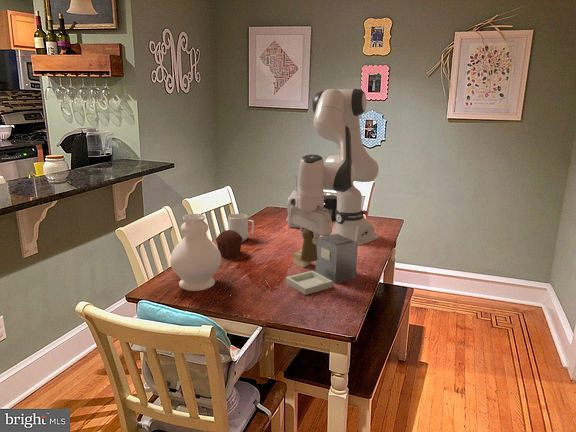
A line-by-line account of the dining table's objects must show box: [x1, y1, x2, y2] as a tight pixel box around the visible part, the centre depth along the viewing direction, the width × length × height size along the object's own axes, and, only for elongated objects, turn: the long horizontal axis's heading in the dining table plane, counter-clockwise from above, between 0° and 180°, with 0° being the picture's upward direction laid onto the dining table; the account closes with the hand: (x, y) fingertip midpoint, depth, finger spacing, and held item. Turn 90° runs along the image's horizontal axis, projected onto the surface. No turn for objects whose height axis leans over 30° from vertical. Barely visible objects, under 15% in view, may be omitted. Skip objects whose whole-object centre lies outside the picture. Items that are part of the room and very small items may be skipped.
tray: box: [285, 270, 334, 296], centre depth 171 cm, size 12×12×2 cm
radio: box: [285, 173, 300, 229], centre depth 244 cm, size 22×8×25 cm, turn 172°
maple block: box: [292, 249, 312, 268], centre depth 191 cm, size 5×5×5 cm
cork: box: [301, 229, 318, 263], centre depth 167 cm, size 6×6×11 cm
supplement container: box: [324, 194, 337, 222], centre depth 254 cm, size 10×10×12 cm
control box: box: [314, 233, 359, 284], centre depth 179 cm, size 10×12×14 cm
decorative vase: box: [169, 213, 222, 292], centre depth 169 cm, size 18×18×25 cm
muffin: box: [215, 229, 243, 259], centre depth 200 cm, size 12×11×10 cm
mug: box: [227, 213, 255, 242], centre depth 219 cm, size 12×9×11 cm
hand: (309, 241), depth 167 cm, fingers closed on cork, 4 cm apart
